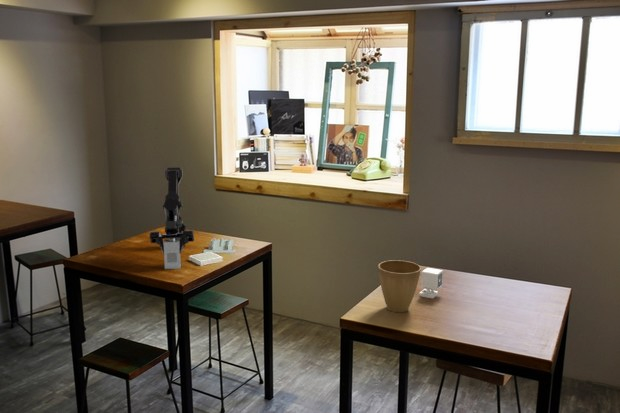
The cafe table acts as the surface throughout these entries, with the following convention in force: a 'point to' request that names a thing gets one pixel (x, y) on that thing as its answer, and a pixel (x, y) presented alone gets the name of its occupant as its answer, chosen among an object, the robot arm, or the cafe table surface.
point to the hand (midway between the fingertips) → (172, 253)
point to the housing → (172, 253)
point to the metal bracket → (220, 246)
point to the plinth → (205, 258)
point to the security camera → (431, 282)
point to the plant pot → (398, 283)
